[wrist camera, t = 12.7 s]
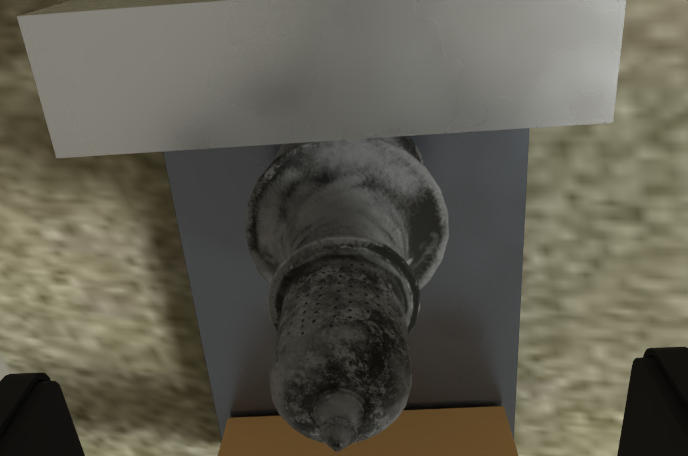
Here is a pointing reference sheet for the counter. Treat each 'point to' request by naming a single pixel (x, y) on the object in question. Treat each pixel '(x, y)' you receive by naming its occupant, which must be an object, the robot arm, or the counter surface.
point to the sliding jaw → (382, 436)
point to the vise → (329, 125)
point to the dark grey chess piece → (345, 278)
